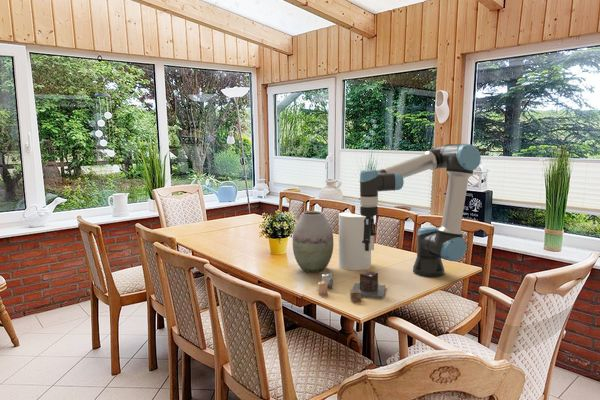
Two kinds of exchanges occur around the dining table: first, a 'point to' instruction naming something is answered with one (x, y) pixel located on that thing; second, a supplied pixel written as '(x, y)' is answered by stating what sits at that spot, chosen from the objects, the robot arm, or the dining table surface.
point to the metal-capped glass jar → (328, 279)
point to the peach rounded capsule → (322, 288)
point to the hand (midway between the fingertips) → (369, 253)
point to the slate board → (375, 294)
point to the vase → (312, 242)
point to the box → (369, 281)
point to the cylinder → (352, 242)
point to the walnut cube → (355, 295)
